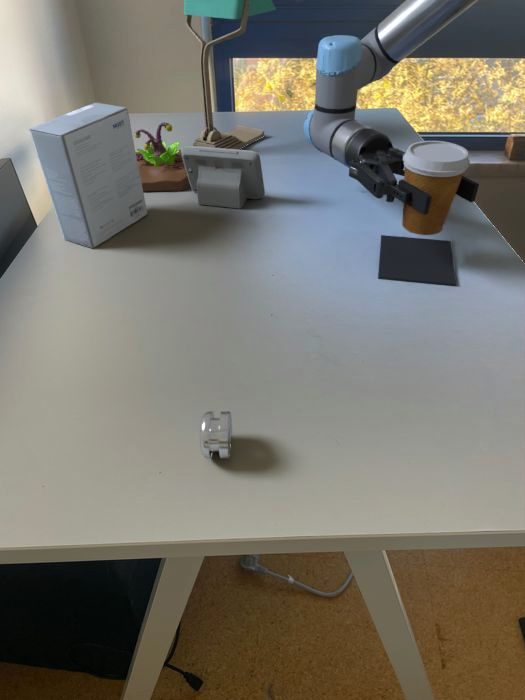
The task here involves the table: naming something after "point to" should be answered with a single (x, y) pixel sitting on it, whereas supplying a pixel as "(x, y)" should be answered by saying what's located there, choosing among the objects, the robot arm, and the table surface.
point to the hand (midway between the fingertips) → (451, 199)
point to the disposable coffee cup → (433, 182)
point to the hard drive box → (91, 172)
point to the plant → (161, 164)
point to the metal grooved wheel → (216, 434)
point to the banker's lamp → (218, 3)
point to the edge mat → (416, 260)
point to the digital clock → (223, 175)
